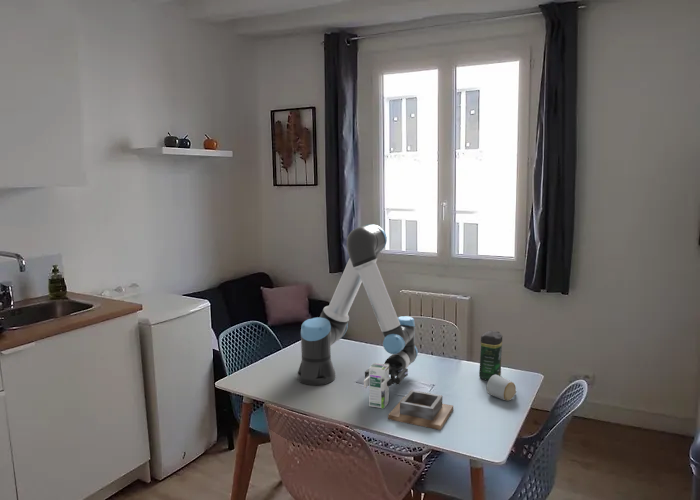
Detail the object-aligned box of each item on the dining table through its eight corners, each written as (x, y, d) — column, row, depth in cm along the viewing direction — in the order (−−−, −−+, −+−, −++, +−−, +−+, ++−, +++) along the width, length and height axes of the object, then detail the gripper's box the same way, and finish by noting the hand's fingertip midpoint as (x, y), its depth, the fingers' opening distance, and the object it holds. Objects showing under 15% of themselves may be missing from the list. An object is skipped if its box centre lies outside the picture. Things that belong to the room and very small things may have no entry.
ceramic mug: (504, 404, 189) (505, 383, 188) (485, 396, 195) (486, 376, 194) (521, 396, 196) (523, 376, 194) (502, 389, 202) (503, 370, 201)
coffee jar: (497, 383, 207) (498, 337, 205) (477, 379, 211) (478, 334, 208) (503, 374, 216) (504, 330, 213) (483, 371, 219) (485, 327, 217)
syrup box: (368, 406, 187) (368, 367, 185) (374, 399, 193) (374, 361, 191) (383, 409, 185) (384, 369, 183) (389, 402, 191) (389, 363, 189)
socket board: (388, 419, 178) (388, 403, 177) (404, 400, 192) (404, 385, 192) (440, 429, 170) (440, 413, 170) (453, 409, 185) (453, 394, 184)
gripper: (420, 376, 200) (399, 401, 180) (374, 369, 208) (348, 391, 188) (420, 357, 199) (399, 379, 178) (374, 350, 207) (348, 371, 187)
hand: (373, 385), depth 183 cm, fingers closed on syrup box, 6 cm apart
